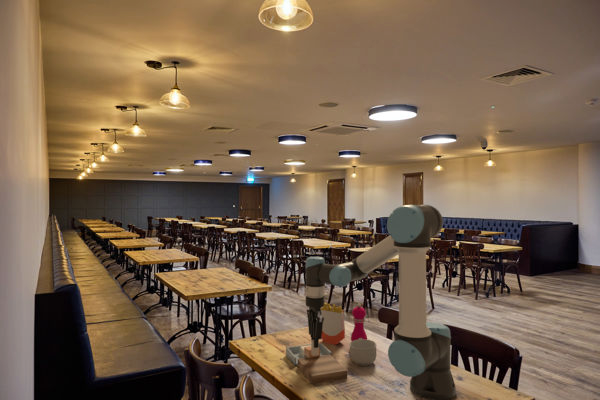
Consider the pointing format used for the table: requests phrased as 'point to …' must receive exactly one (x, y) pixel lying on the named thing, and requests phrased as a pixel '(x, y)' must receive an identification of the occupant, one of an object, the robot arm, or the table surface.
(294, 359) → the tray
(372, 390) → the table surface
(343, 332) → the french fries container
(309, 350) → the orange square block
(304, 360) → the walnut board
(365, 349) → the teacup
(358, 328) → the pepper mill
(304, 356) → the cream square block
